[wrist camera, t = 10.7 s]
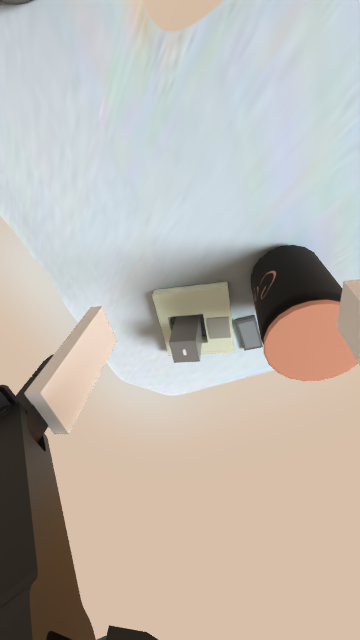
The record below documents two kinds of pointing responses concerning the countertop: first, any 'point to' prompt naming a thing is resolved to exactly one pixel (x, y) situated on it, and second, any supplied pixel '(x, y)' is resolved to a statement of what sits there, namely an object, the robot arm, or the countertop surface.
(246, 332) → the phone
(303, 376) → the coffee jar
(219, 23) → the countertop surface
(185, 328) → the block
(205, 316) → the outlet plate
